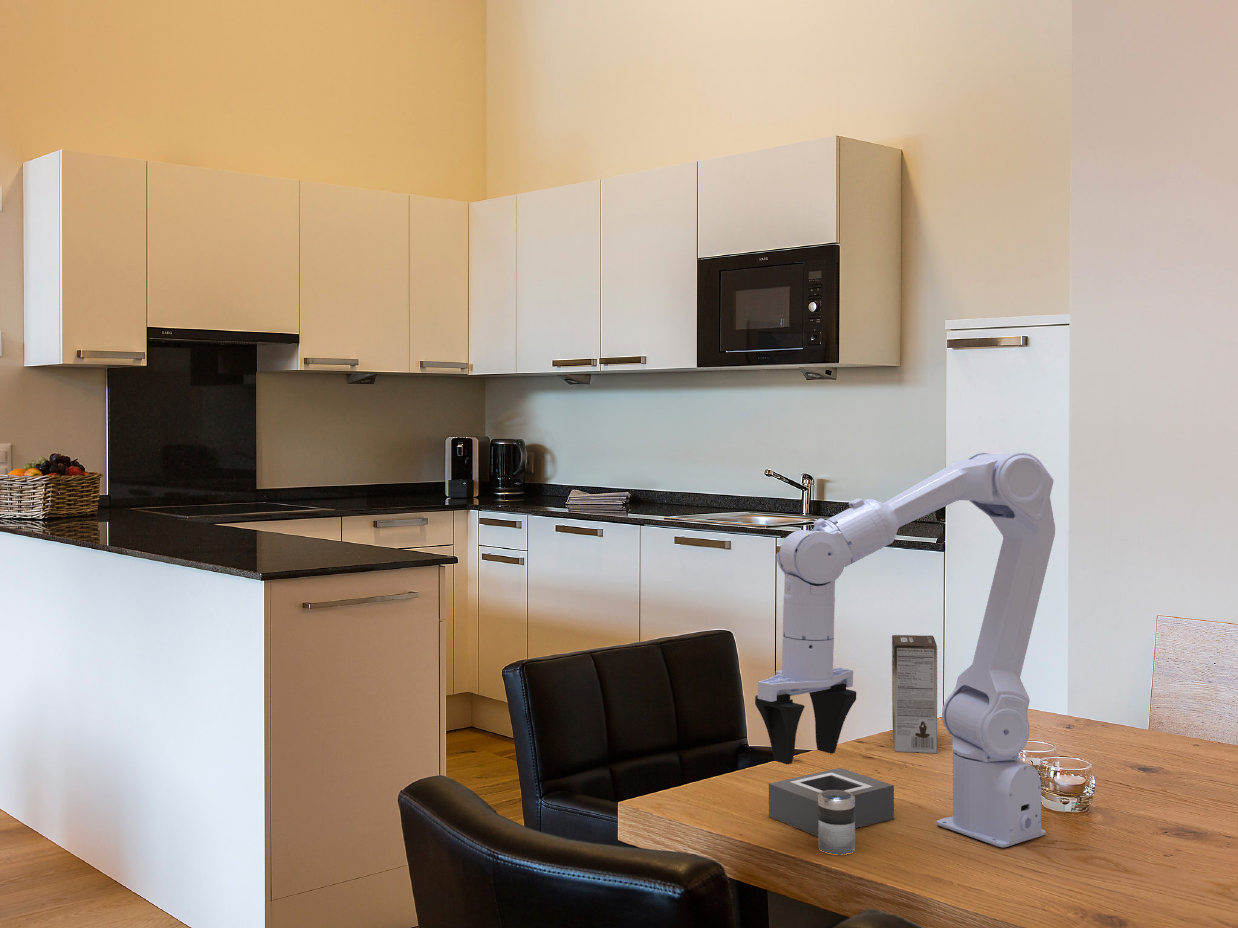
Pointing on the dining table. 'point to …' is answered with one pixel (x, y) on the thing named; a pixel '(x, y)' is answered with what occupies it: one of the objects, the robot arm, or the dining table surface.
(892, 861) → the dining table surface
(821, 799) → the lens
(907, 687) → the coffee box
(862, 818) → the grey hollow block
